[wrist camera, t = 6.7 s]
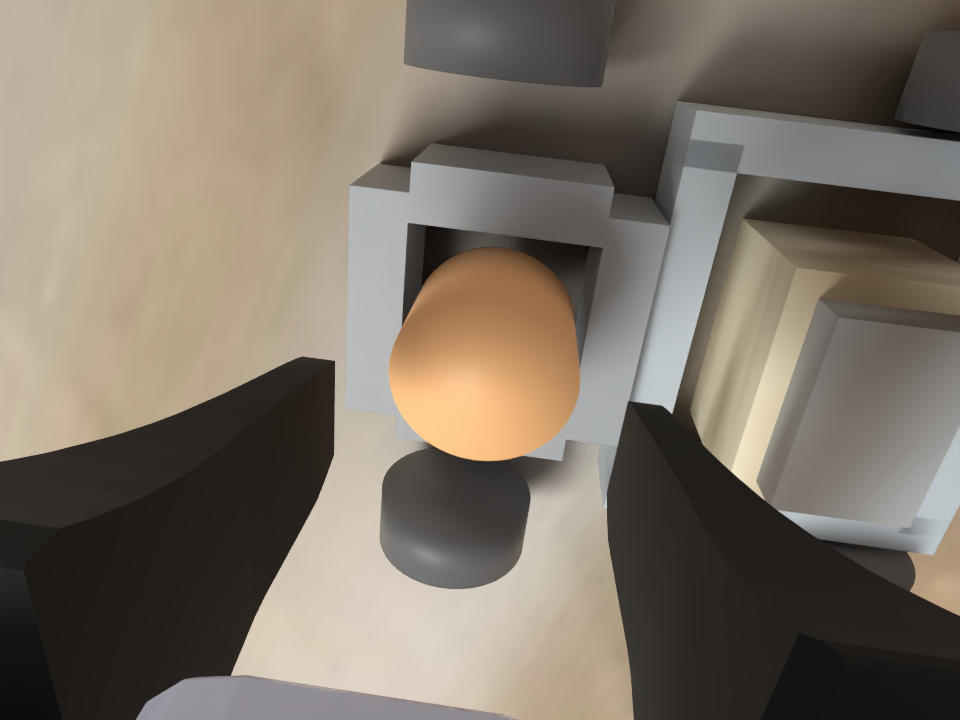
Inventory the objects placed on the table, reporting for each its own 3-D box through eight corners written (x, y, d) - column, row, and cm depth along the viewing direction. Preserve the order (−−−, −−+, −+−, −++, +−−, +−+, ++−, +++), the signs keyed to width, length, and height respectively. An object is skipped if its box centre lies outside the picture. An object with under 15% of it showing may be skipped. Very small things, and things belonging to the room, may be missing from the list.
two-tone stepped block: (911, 237, 18) (1050, 313, 13) (836, 428, 20) (928, 551, 16) (741, 217, 18) (815, 284, 13) (689, 409, 21) (733, 525, 16)
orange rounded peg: (586, 248, 16) (596, 303, 13) (560, 391, 18) (563, 472, 15) (424, 228, 17) (393, 276, 13) (414, 371, 18) (384, 447, 15)
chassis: (1101, 55, 16) (1289, 61, 12) (869, 550, 22) (939, 661, 18) (386, -28, 16) (334, -48, 12) (366, 478, 23) (329, 571, 19)
